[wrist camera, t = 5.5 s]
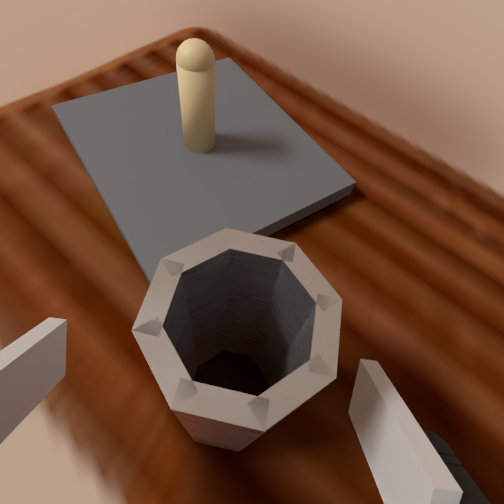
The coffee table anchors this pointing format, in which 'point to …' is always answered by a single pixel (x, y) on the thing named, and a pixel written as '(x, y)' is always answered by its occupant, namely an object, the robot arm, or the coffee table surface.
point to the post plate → (197, 157)
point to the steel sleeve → (239, 332)
